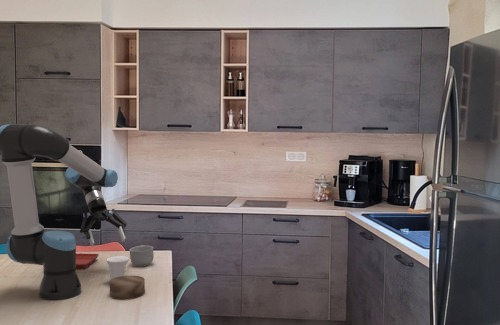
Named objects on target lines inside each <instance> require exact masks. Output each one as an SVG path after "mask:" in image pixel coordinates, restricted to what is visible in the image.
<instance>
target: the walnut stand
mask: <svg viewBox="0 0 500 325" xmlns="http://www.w3.org/2000/svg"><path fill="white" fill-rule="evenodd" d="M145 282H146V281H145V278H144V277H142V276H139V275H124V276H120V277H116V278H113V279H111V280H110V279H109V297H111V298H113V299H115V300H116V299H117V300H131V299H136V298H140V297H141V296H143V295H144V294H145V293H146V288H145V287H146V285H145Z"/></svg>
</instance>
